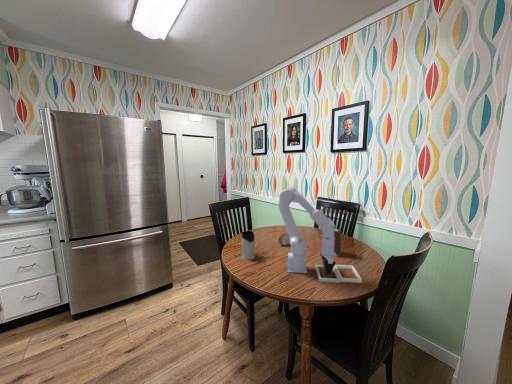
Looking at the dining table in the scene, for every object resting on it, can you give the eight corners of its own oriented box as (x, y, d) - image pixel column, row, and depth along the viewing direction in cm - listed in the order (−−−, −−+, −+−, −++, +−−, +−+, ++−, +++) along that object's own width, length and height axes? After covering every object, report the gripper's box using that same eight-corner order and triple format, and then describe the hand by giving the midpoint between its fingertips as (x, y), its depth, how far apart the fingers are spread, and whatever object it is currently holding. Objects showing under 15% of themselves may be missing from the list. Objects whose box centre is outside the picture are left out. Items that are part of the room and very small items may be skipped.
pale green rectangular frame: (319, 281, 100) (319, 278, 99) (315, 267, 113) (315, 264, 113) (340, 282, 98) (340, 279, 98) (333, 268, 112) (333, 265, 111)
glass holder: (238, 256, 128) (237, 233, 126) (254, 249, 138) (253, 227, 136) (248, 261, 122) (247, 236, 120) (264, 253, 132) (263, 230, 130)
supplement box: (340, 254, 128) (341, 229, 126) (336, 256, 125) (337, 231, 123) (328, 250, 135) (328, 226, 133) (323, 252, 132) (324, 228, 130)
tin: (295, 241, 152) (295, 230, 150) (298, 242, 149) (298, 231, 148) (278, 245, 144) (278, 233, 143) (281, 247, 141) (281, 235, 140)
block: (323, 276, 104) (323, 263, 103) (322, 272, 108) (322, 259, 107) (332, 277, 103) (332, 263, 102) (330, 272, 107) (330, 260, 106)
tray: (340, 281, 99) (340, 278, 99) (334, 267, 112) (334, 264, 112) (362, 282, 98) (362, 279, 98) (352, 268, 111) (353, 265, 111)
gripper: (340, 251, 96) (339, 278, 98) (333, 239, 110) (332, 264, 112) (324, 250, 97) (323, 277, 99) (319, 239, 111) (318, 263, 113)
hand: (327, 270), depth 105 cm, fingers open, 7 cm apart
